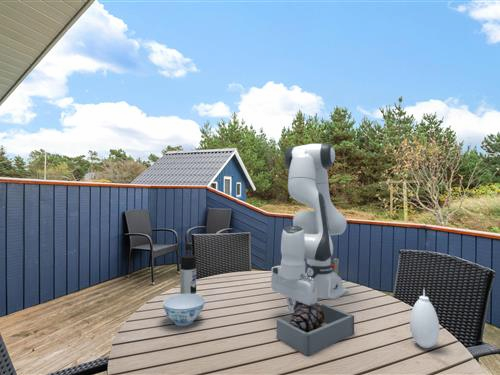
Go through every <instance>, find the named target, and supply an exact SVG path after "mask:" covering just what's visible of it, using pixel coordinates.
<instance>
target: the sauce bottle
mask: <svg viewBox="0 0 500 375" xmlns="http://www.w3.org/2000/svg"><path fill="white" fill-rule="evenodd" d="M422 291H423V292H422V295H419V297H418V298H419V299H418V300H417V301H416V302H415V303H414V305H413V307H412V309H411V313H410V318H409V329H410V332H411V335H412V338H413V340H414V341H415V343H417V345H418V346H420V347H422V348H423V349H430V348H431V347H434V346H435V345H436V343H437V342H438V340H439V336H440V322H439V317H438V315H437V312H436V309H435V307H434V305H433V304H432V302H431V301H430V298H429V297H428V296H426V290H425V288H423V290H422Z"/></svg>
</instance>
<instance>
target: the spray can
mask: <svg viewBox="0 0 500 375" xmlns="http://www.w3.org/2000/svg"><path fill="white" fill-rule="evenodd" d="M179 270H180V273H179V274H180V276H179V277H180V290H179V291H180V293H179V294H197V255H192V254H184V255H181V256H180V269H179Z"/></svg>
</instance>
